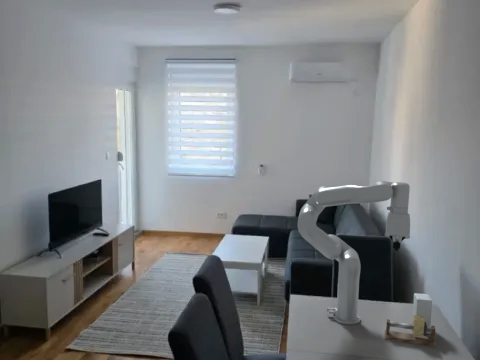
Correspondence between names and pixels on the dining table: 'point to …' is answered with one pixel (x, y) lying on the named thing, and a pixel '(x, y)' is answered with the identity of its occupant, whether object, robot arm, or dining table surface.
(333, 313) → the robot arm
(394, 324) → the rod stand
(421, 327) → the yellow rectangular block
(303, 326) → the dining table surface
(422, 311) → the skincare box
